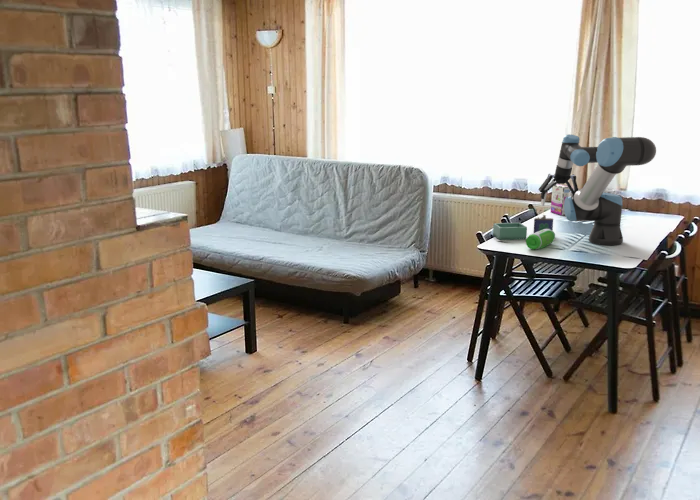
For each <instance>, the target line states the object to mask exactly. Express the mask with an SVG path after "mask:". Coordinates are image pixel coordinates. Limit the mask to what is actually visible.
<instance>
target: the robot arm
mask: <svg viewBox="0 0 700 500" xmlns="http://www.w3.org/2000/svg"><path fill="white" fill-rule="evenodd" d="M656 155H657V147H656V145H655V143H654V141H652V140H651V139H649V138H647V137H644V136H643V137H641V136H636V137H635V136H630V137H629V136H627V137H626V136H624V137H623V136H622V137H616V136H612V137H606V138H603V139H602V140H601V141H600V142H599V144H598V146H581V145H580V137H579V136H578V135H575V134H566V135H564V136H563V139H562V142H561V146H560V150H559V155H558V159H557V164H556V167H555V173H553V174H551V173H548V174H547V177H546V179H545V180H544V181H543V183H542V184H541V185H540V186H539V188H538V191H539V193H540V194H541V195H540V199H541V201H540V204H541V205H542V207H543V206H545V203H546V199H547V195H548V191H549V190H550V189H551V190H552V187H553V186H554V185H558V184H559V185H566V186H568V188H569V189H570V192H569V195H568V197H566V198H565V201H564V212H565V215H564V216H565V218H566V219H567V221H569V222H593V226H592V228H591V231H590V233H589V236H588V241H589V243H592V244H596V245H602V246H619V245H622V244H623V242H624V237H623V233H622V229H621V221H622V220H621V218H622V213H623V212H622V211H623V210H622V209H623V197H622V196H621V195H619V194H615V193H610V192H605V191H606V189H607V188H608V186H609V185H610V184H611V182H612V181H613V179H614V177H616V175H619V174H620V173H622V172H624V170H625V169H626V167H630V166H642V165H647V164H648V163H650V162H652V161H653V160H654V159H655V157H656ZM587 164H597V165H596V167H595V169H594V170H593V171H592V172H591V174H590V176H589V178H587V181H586V182H585V184H584V185H583V187H582V188H581V189H579V188H578V184H577V176H576V174H572V171H573V167H574V165H575V166H577V167H584V166H587ZM570 179H571V182H572V185H573V187H572V185H571V184H570V182H569V180H570Z"/></svg>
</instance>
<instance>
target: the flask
mask: <svg viewBox="0 0 700 500" xmlns="http://www.w3.org/2000/svg"><path fill="white" fill-rule="evenodd" d="M553 227H554V218H553V217H551V218H550V217H548V218H547V215H545V214H543V216H540V217H535V218H534V221H533V233H535V232H538V231H541V230H543V229H550V230H552V231H553ZM553 232H554V231H553Z"/></svg>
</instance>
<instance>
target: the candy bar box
mask: <svg viewBox="0 0 700 500" xmlns="http://www.w3.org/2000/svg"><path fill="white" fill-rule="evenodd" d="M569 192H571V191H570V189H569V188H568V186H567V185H565V184H558V183H557V184H556V185H554V186H553V187H552V188H551V199H550V200H551V201H550V202H551V203H550V205H551V206H550V213H552V214H555V215H559V216H565V212H564V201H565V198H566V197H568V195H569Z"/></svg>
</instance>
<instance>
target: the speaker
mask: <svg viewBox="0 0 700 500" xmlns="http://www.w3.org/2000/svg"><path fill="white" fill-rule="evenodd" d="M555 239H556V234H555V232H554V231H552V230H550V229H543V230H541V231H538V232H535V233H534V232H533V233H531V234H529V235H528V236H527V237H526V239H525V245H526V246H527V247H528V249H530V250H541V249H543V248H545V247H547V246H549V245H550V244H553V242H554V240H555Z"/></svg>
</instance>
